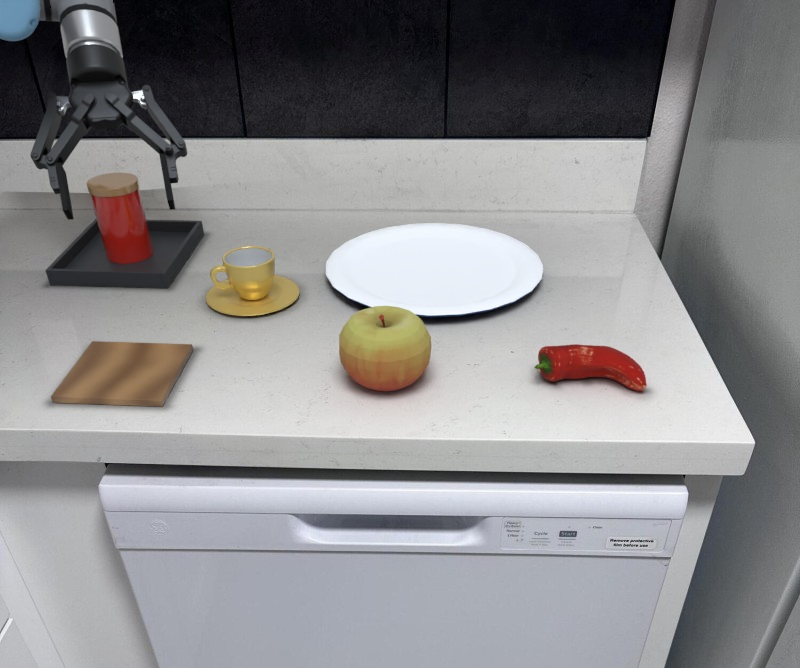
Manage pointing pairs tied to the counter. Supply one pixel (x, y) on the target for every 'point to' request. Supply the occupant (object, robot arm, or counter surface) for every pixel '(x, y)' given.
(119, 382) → the board
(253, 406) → the counter surface
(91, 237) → the tray
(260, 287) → the cup
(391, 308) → the apple
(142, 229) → the spice jar
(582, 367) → the vegetable
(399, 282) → the plate
